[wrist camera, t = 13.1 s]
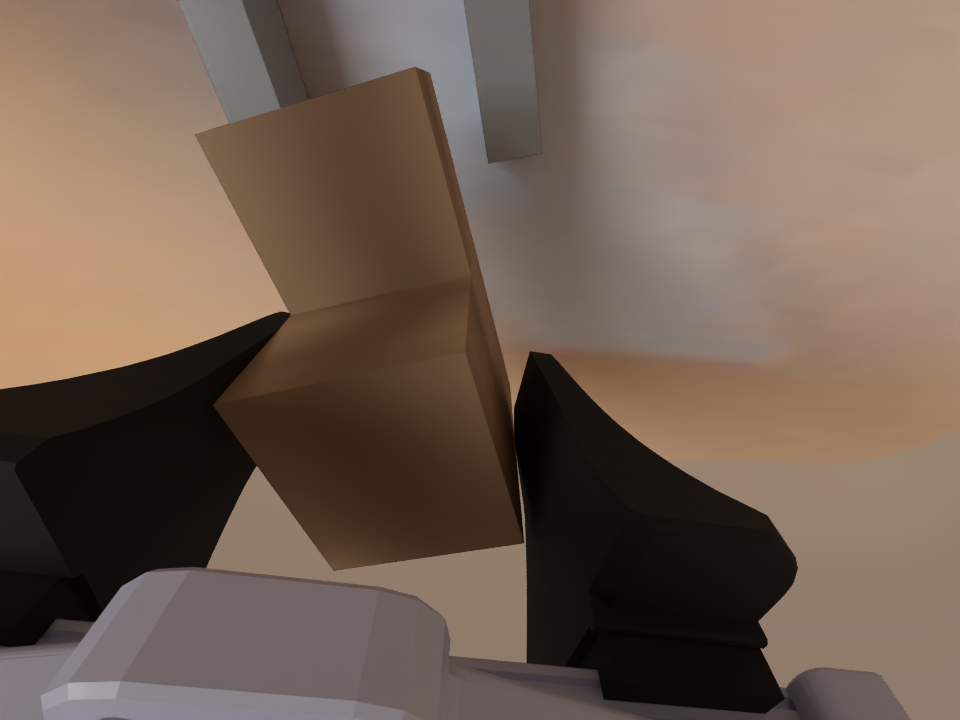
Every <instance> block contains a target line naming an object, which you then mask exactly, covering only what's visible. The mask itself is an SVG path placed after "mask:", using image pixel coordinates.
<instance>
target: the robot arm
mask: <svg viewBox="0 0 960 720" xmlns="http://www.w3.org/2000/svg"><path fill="white" fill-rule="evenodd" d="M290 316H291V315H290V313H287V312H278V313H274V314H272V315H269V316H266V317H264V318H261V319H259V320H256V321H254V322H251V323H249V324H246V325H244V326H242V327H239V328H237V329H234V330H232V331H229V332H227V333H224V334H222V335H220V336H217V337H214V338H212V339H209V340H206V341H204V342H201V343H198V344H195V345H193V346H190V347H187V348H184V349H182V350H179V351H176V352H173V353H170V354H167V355H163V356H160V357H157V358H154V359H150V360H146V361H143V362H139V363H135V364H132V365H128V366H124V367H120V368H116V369H111V370H106V371H102V372H97V373H92V374H88V375H83V376H78V377H74V378H69V379H64V380H58V381H52V382H46V383H40V384H34V385H27V386H20V387H13V388H7V389H0V720H911V718H910V717H909V716H908V714H907V713H906V711H905V710H904V708H903V707H902V705H901V704H900V702H899V701H898V700H897V698H896V697H895V695H894V694H893V692H892V691H891V690H890V688H889V686H888V685H887V683H886V682H885V681H884V679H883V678H882V676H881V675H879V674H876V673H874V672H865V671H855V670H846V669H836V668H814V669H810V670H806V671H804V672H802V673H800V674H798V675H797V676H796V677H795V678H794V679H793V680H792V681H791V682H790V683H789V684H788V686H787V688H783V687H779V685H778V683H777V681H776V679H775V677H774V675H773V673H772V671H771V669H770V667H769V665H768V663H767V661H766V659H765V657H764V655H763V653H762V651H761V649H760V648H763V649H764V648H765V647H766V646H767V644H768V642H767V638H766V636H765V634H764V632H763V630H762V628H761V626H760V624H759V622H758V621H759V620H760V619H761V618H762V617H763V616H764V615H765V614H766V613H767V612H768V611H769V610H770V609H771V608H772V607H773V606H774V605H775V604H776V603H777V602H778V601H779V600H780V599H781V598H782V597H783V596H784V595H785V594H786V592H787V591H788V590H789V588H790V587H791V586H792V584H793V582H794V580H795V576H796V573H797V569H798V567H797V562H796V558H795V556H794V554H793V553H792V551H791V550H790V549H789V547H788V545H787V544H786V542H785V541H784V540H783V538H782V537H781V535H780V534H779V532H778V531H777V529H776V528H775V526H774V525H773V523H772V522H771V520H770V519H769V517H768V516H767V515H765V514H763V513H761V512H759V511H757V510H755V509H753V508H751V507H749V506H747V505H745V504H743V503H741V502H739V501H737V500H735V499H733V498H731V497H729V496H727V495H725V494H723V493H720V492H718V491H717V490H715V489H713V488H711V487H710V486H708V485H706V484H704V483H703V482H701V481H699V480H697V479H695V478H694V477H692V476H690V475H688V474H687V473H685V472H684V471H682V470H680V469H679V468H677V467H675V466H674V465H672V464H671V463H669V462H668V461H666V460H665V459H664V458H662V457H661V456H659V455H658V454H656V453H655V452H653V451H652V450H650V449H649V448H648V447H646V446H645V445H643V444H642V443H641V442H639V441H638V440H637V439H636V438H634V437H633V436H632V435H631V434H629V433H628V432H627V431H626V430H625V429H623V428H622V427H621V426H620V425H619V424H617V423H616V422H615V421H614V420H613V419H612V418H611V417H610V416H609V415H607V414H606V413H605V412H604V411H603V410H602V409H601V408H600V407H599V406H598V405H597V404H596V403H595V402H594V401H593V400H592V399H591V398H590V397H589V396H588V395H587V394H586V393H585V392H584V390H583V389H582V388H581V387H580V386H579V385H578V384H577V383H576V382H575V380H574V379H573V378H572V377H571V376H570V375H569V374H568V372H567V371H566V370H565V369H564V368H563V367H562V366H561V364H560V363H559V362H558V361H557V360H556V359H555V358H554V357H553V356H552V355H551V354H544V353H538V352H532V351H530V353H529V357H528V360H527V364H526V368H525V371H524V375H523V378H522V382H521V385H520V389H519V393H518V396H517V400H516V403H515V407H514V440H515V448H516V455H517V462H518V469H519V476H520V483H521V489H522V497H523V504H524V513H525V527H526V559H527V560H526V563H527V663H518V662H508V661H497V660H487V659H476V658H465V657H455V656H449V651H450V637H449V633H448V629H447V625H446V620H445V619H444V618H443V616H442V615H441V614H440V613H439V612H437V611H435V610H434V609H433V608H432V607H430V606H429V605H428V604H426V603H425V602H423V601H422V600H421V599H419V598H418V597H416V596H413V595H410V594H405V593H402V592H398V591H394V590H391V589H386V588H383V587H376V586H366V585H358V584H349V583H339V582H330V581H321V580H311V579H301V578H293V577H283V576H274V575H265V574H255V573H246V572H236V571H227V570H218V569H208V568H206V567H207V565H208V562H209V560H210V558H211V555H212V553H213V551H214V549H215V546H216V545H217V542H218V540H219V538H220V536H221V534H222V531H223V529H224V527H225V525H226V523H227V521H228V518H229V517H230V515H231V513H232V511H233V509H234V507H235V504H236V502H237V500H238V498H239V496H240V494H241V492H242V490H243V488H244V486H245V484H246V483H247V481H248V479H249V478H250V476H251V474H252V472H253V471H254V469H255V468H256V466H257V465H256V464H255V462H254V461H253V460H252V458H251V457H250V455H249V454H248V453H247V451H246V450H245V449H244V447H243V446H242V444H241V443H240V442H239V440H238V439H237V438H236V436H235V435H234V433H233V432H232V431H231V429H230V428H229V427H228V425H227V424H226V422H225V421H224V420H223V418H222V417H221V416H220V414H219V413H218V411H217V410H216V409H215V407H214V406H213V404H214V403H215V402H216V401H217V400H218V399H219V397H220V396H221V395H222V394H223V393H224V392H225V391H226V389H227V388H228V387H229V386H230V385H231V384H232V382H233V381H234V380H235V379H236V378H237V377H238V376H239V374H240V373H241V372H242V371H243V370H244V369H245V368H246V366H247V365H248V364H249V363H250V362H251V361H252V360H253V358H254V357H255V356H256V355H257V354H258V353H259V352H260V350H261V349H262V348H263V347H264V346H265V345H266V344H267V342H268V341H269V340H270V339H271V338H272V337H273V336H274V334H275V333H276V332H277V331H278V330H279V329H280V328H281V326H282V325H283V324H284V323H285V322H286V321H287V320H288V318H289V317H290Z"/></svg>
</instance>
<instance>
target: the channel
mask: <svg viewBox="0 0 960 720" xmlns="http://www.w3.org/2000/svg"><path fill="white" fill-rule="evenodd" d="M177 1H178V3H179V6H180V8H181V10H182V13H183V15H184V17H185V20H186V22H187V25H188V27H189V29H190V32H191V34H192V36H193V39H194V41H195V43H196V46H197V48H198V51H199V53H200V55H201V58H202V60H203V62H204V65H205V67H206V69H207V72H208V74H209V77H210V79H211V81H212V84H213V86H214V88H215V91H216V93H217V95H218V98H219V100H220V103H221V105H222V107H223V110H224V112H225V114H226V117H227V119H228V121H229V124H231V123H234V122H237V121H240V120H244V119H247V118H250V117H253V116H257V115H260V114H263V113H266V112H270V111H273V110H276V109H280V108H283V107H286V106H289V105H293V104H296V103H299V102H302V101H306V100H309V97H308V94H307V91H306V88H305V85H304V82H303V79H302V76H301V73H300V70H299V67H298V64H297V61H296V58H295V55H294V52H293V49H292V46H291V43H290V40H289V36H288V33H287V30H286V27H285V24H284V21H283V18H282V15H281V12H280V9H279V6H278V3H277V0H177ZM464 6H465V12H466V19H467V26H468V32H469V39H470V45H471V52H472V59H473V65H474V72H475V79H476V85H477V92H478V98H479V105H480V112H481V118H482V125H483V132H484V138H485V145H486V152H487V158H488V163H494V162H499V161H504V160H509V159H515V158H520V157H525V156H531V155H536V154H541V153H542V145H541V133H540V122H539V111H538V100H537V89H536V77H535V66H534V55H533V44H532V32H531V21H530V10H529V0H464Z"/></svg>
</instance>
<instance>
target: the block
mask: <svg viewBox="0 0 960 720" xmlns="http://www.w3.org/2000/svg"><path fill="white" fill-rule="evenodd" d="M195 136H196V138H197V140H198V142H199V144H200V146H201V147H202V149H203V151H204V153H205V155H206V157H207V159H208V161H209V163H210V164H211V166H212V168H213V170H214V172H215V174H216V176H217V178H218V179H219V181H220V183H221V185H222V187H223V189H224V191H225V193H226V194H227V196H228V198H229V200H230V202H231V204H232V206H233V208H234V209H235V211H236V213H237V215H238V217H239V219H240V221H241V223H242V225H243V226H244V228H245V230H246V232H247V234H248V236H249V238H250V240H251V241H252V243H253V245H254V247H255V249H256V251H257V253H258V255H259V256H260V258H261V260H262V262H263V264H264V266H265V268H266V270H267V272H268V273H269V275H270V277H271V279H272V281H273V283H274V285H275V287H276V288H277V290H278V292H279V294H280V296H281V298H282V300H283V302H284V303H285V305H286V307H287V309H288V311H289V313H290V315H291V316H290V317H289V318H288V320H287V321H286V322H285V323H284V324H283V325H282V326H281V328H280V329H279V330H278V331H277V332H276V333H275V334H274V336H273V337H272V338H271V339H270V340H269V341H268V342H267V344H266V345H265V346H264V347H263V348H262V349H261V350H260V352H259V353H258V354H257V355H256V356H255V357H254V358H253V360H252V361H251V362H250V363H249V364H248V365H247V366H246V368H245V369H244V370H243V371H242V372H241V373H240V374H239V376H238V377H237V378H236V379H235V380H234V381H233V382H232V384H231V385H230V386H229V387H228V388H227V389H226V391H225V392H224V393H223V394H222V395H221V396H220V397H219V399H218V400H217V401H216V402H215V403H214V404H213V406H214V407H215V409H216V410H217V411H218V413H219V414H220V416H221V417H222V418H223V420H224V421H225V422H226V424H227V425H228V427H229V428H230V429H231V431H232V432H233V433H234V435H235V436H236V438H237V439H238V440H239V442H240V443H241V444H242V446H243V447H244V449H245V450H246V451H247V453H248V454H249V455H250V457H251V458H252V460H253V461H254V462H255V464H256V465H257V466H258V468H259V469H260V470H261V472H262V473H263V474H264V476H265V477H266V479H267V480H268V481H269V483H270V484H271V486H272V487H273V488H274V490H275V491H276V492H277V493H278V495H279V496H280V498H281V499H282V501H283V502H284V503H285V505H286V506H287V508H288V509H289V510H290V512H291V513H292V514H293V516H294V517H295V518H296V520H297V521H298V523H299V524H300V525H301V527H302V528H303V530H304V531H305V532H306V534H307V535H308V536H309V538H310V539H311V541H312V542H313V543H314V545H315V546H316V547H317V549H318V550H319V551H320V553H321V554H322V555H323V557H324V558H325V560H326V561H327V562H328V564H329V565H330V567H331V568H332V569H333V571H336V570H343V569H349V568H355V567H363V566H370V565H377V564H384V563H391V562H398V561H405V560H412V559H419V558H425V557H432V556H439V555H446V554H452V553H460V552H467V551H473V550H480V549H488V548H494V547H501V546H509V545H515V544H522V543H524V537H523V525H522V514H521V503H520V492H519V482H518V470H517V458H516V448H515V440H514V425H513V414H512V403H511V392H510V383H509V379H508V375H507V371H506V368H505V364H504V360H503V356H502V352H501V348H500V344H499V340H498V336H497V332H496V329H495V325H494V321H493V317H492V313H491V309H490V305H489V301H488V297H487V293H486V290H485V286H484V282H483V278H482V274H481V270H480V266H479V262H478V258H477V254H476V251H475V247H474V243H473V239H472V235H471V231H470V227H469V223H468V219H467V215H466V212H465V208H464V204H463V200H462V196H461V192H460V188H459V184H458V180H457V176H456V173H455V169H454V165H453V161H452V157H451V153H450V149H449V145H448V141H447V137H446V134H445V130H444V126H443V122H442V118H441V114H440V110H439V106H438V102H437V98H436V95H435V91H434V87H433V83H432V79H431V75H430V73H429V72H426V71H424V70H421V69H419V68H416V67H413V68H410V69H407V70H403V71H400V72H397V73H394V74H390V75H387V76H384V77H381V78H377V79H374V80H371V81H368V82H364V83H361V84H358V85H355V86H351V87H348V88H345V89H341V90H338V91H335V92H332V93H328V94H325V95H322V96H319V97H315V98H312V99H309V100H306V101H302V102H299V103H296V104H293V105H289V106H286V107H283V108H280V109H276V110H273V111H270V112H266V113H263V114H260V115H257V116H253V117H250V118H247V119H244V120H240V121H237V122H234V123H231V124H227V125H224V126H221V127H218V128H214V129H211V130H208V131H205V132H201V133H198V134H195Z"/></svg>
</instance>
